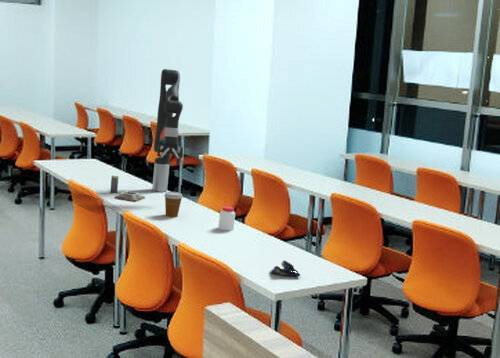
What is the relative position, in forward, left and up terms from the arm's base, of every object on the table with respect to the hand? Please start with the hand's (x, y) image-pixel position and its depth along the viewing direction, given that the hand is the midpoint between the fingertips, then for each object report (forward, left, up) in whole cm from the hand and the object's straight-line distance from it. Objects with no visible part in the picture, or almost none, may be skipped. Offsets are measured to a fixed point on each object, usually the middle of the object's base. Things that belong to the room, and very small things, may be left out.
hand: (169, 164), depth 368 cm
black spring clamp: (+94, +87, -23) cm, 131 cm away
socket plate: (+4, -21, -22) cm, 31 cm away
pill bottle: (+36, +46, -23) cm, 63 cm away
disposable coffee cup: (+28, +14, -23) cm, 39 cm away
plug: (-4, -34, -22) cm, 41 cm away
